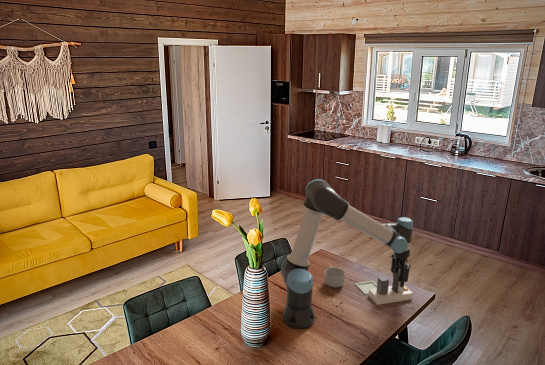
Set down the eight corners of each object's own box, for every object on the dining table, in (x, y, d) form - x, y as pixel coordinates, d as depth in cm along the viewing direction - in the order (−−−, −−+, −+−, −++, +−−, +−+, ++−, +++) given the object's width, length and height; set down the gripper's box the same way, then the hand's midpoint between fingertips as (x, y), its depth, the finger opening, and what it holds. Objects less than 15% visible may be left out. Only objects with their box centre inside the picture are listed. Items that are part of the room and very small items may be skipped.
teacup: (345, 290, 226) (346, 276, 224) (324, 289, 226) (325, 276, 224) (341, 277, 240) (342, 264, 237) (322, 276, 240) (323, 263, 237)
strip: (377, 305, 213) (379, 284, 210) (368, 296, 221) (370, 275, 218) (411, 299, 219) (414, 279, 215) (401, 290, 227) (404, 270, 224)
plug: (402, 293, 219) (405, 274, 216) (396, 294, 218) (398, 275, 215) (398, 289, 223) (400, 270, 220) (391, 290, 222) (393, 271, 218)
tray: (364, 295, 222) (364, 293, 222) (354, 284, 232) (355, 283, 232) (383, 292, 225) (383, 290, 225) (372, 282, 235) (373, 280, 235)
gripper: (419, 254, 206) (413, 297, 213) (399, 240, 222) (394, 280, 229) (405, 256, 204) (400, 299, 211) (386, 241, 220) (382, 282, 227)
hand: (397, 289), depth 220 cm, fingers closed on plug, 4 cm apart
